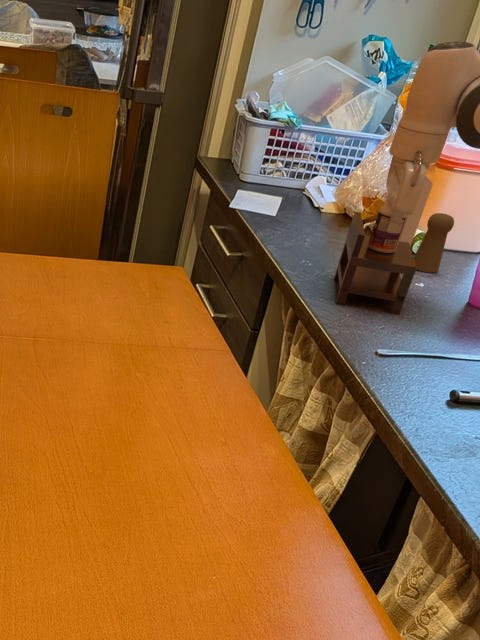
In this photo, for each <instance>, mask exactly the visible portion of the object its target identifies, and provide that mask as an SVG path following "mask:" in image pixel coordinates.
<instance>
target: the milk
mask: <svg viewBox="0 0 480 640" xmlns="http://www.w3.org/2000/svg"><path fill="white" fill-rule="evenodd" d="M433 185H434V182H432V181H431V180H430V178H429V177H427V176H426V177H425V181H424V184H423V187H422V190H421V193H420V197H419V200H418V203H417V206H416V208H415V210H414V212H413V214H411V215H408V218H407V221H406V224H405V226H404V229H403V232H402V235H401V238H400V241H401V242H407V243H409V244H410V247H411V248H412V244H413V241H414V238H415V235H416V233H417V230H418V227H419V224H420V221H421V219H422V216H423V213H424V211H425V207H426V204H427V202H428V199H429V196H430V193H431V191H432V188H433ZM387 197H388V193H387V194H386V197H385V201H384V203H383V205H386V204H387V202H386V200H387ZM400 275H401V273H400Z"/></svg>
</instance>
